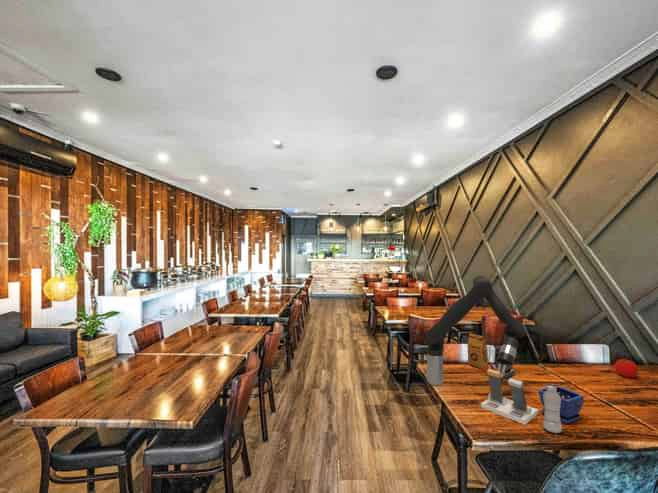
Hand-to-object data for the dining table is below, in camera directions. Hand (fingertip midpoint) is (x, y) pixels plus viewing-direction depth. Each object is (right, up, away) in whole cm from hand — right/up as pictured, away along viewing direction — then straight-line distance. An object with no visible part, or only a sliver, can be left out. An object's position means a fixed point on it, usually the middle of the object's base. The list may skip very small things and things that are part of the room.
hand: (498, 384), depth 152 cm
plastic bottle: (+12, -10, -22) cm, 27 cm away
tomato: (+103, -12, +36) cm, 110 cm away
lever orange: (0, -8, 0) cm, 8 cm away
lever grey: (+6, -7, -8) cm, 13 cm away
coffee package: (+18, -13, +55) cm, 59 cm away
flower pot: (+24, -11, -11) cm, 29 cm away
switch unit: (+3, -11, -4) cm, 12 cm away
